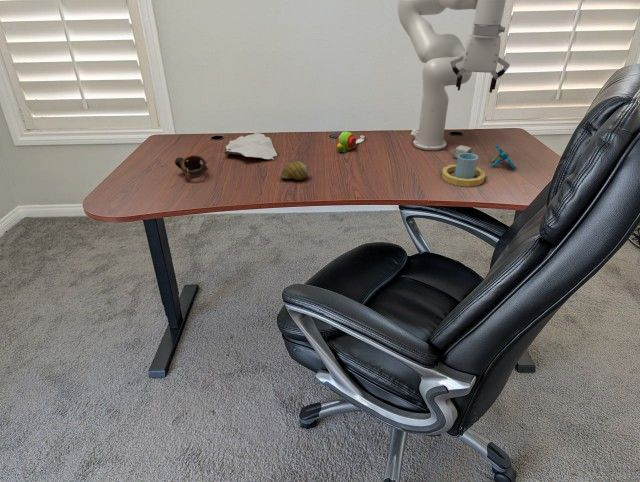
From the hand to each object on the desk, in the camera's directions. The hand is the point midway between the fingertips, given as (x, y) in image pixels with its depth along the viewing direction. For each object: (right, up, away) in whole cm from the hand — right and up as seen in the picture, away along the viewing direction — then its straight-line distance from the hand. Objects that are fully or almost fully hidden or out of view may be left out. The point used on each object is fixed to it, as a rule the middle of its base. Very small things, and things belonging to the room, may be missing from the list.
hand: (474, 90), depth 135 cm
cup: (-2, -27, +5) cm, 28 cm away
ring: (-2, -27, +5) cm, 27 cm away
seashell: (-58, -27, +7) cm, 64 cm away
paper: (-76, -14, +27) cm, 82 cm away
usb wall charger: (+2, -17, +20) cm, 27 cm away
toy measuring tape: (-37, -11, +32) cm, 50 cm away
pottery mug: (-92, -26, +10) cm, 96 cm away
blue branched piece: (+14, -22, +13) cm, 29 cm away
